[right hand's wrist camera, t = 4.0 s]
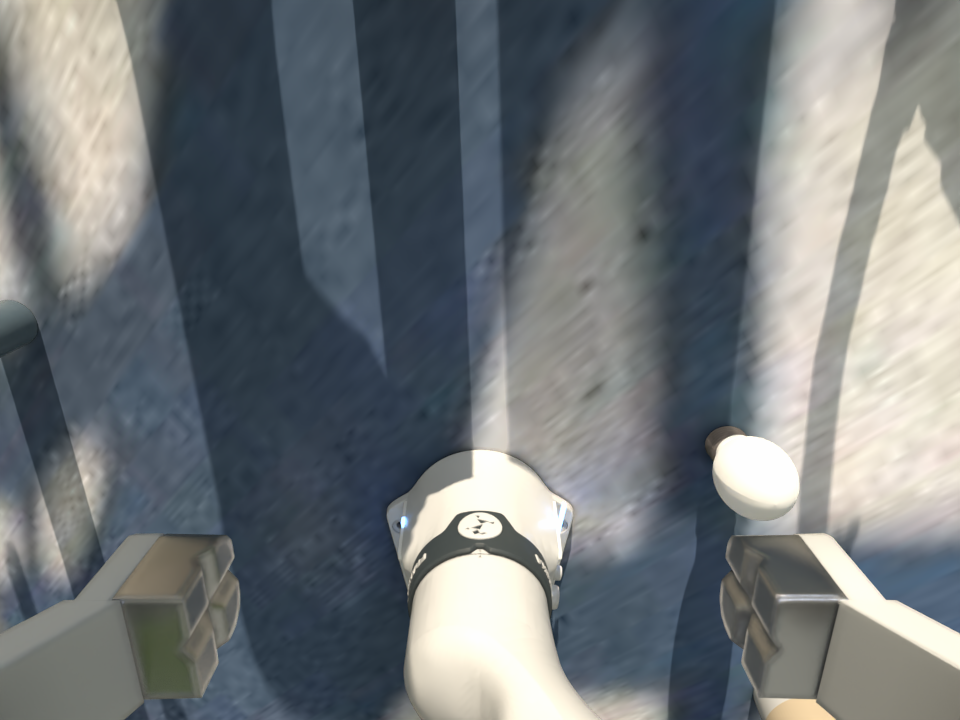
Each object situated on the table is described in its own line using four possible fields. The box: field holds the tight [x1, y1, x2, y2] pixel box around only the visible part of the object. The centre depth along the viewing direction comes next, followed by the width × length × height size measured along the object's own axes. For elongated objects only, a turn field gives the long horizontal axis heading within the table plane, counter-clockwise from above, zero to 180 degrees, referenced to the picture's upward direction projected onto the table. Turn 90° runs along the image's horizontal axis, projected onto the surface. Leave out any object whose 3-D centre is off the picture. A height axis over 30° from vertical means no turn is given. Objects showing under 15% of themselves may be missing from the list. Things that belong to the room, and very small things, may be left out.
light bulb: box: [705, 426, 799, 521], centre depth 58 cm, size 7×7×11 cm
